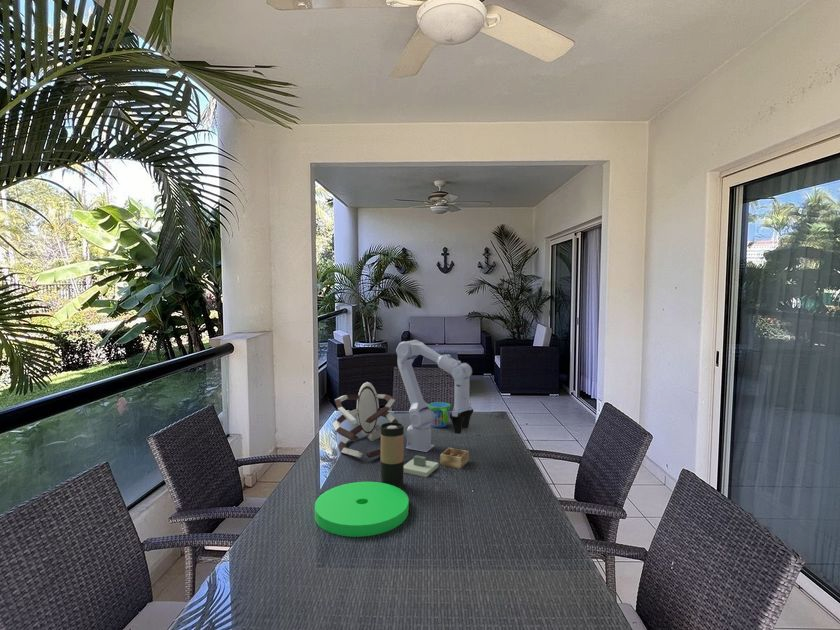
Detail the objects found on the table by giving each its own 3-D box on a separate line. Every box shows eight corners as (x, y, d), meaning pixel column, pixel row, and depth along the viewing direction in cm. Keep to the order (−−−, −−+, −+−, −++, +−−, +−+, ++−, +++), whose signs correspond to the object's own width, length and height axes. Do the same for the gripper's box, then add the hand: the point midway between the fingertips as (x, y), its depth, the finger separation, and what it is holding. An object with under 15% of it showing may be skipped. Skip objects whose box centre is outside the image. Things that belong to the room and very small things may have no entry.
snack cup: (424, 421, 221) (424, 401, 220) (445, 420, 223) (445, 400, 223) (432, 431, 206) (432, 409, 205) (454, 430, 208) (455, 408, 208)
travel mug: (376, 487, 148) (375, 427, 146) (388, 478, 154) (388, 421, 153) (396, 492, 144) (396, 430, 143) (408, 483, 151) (408, 424, 150)
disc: (316, 544, 115) (316, 531, 115) (312, 497, 141) (312, 487, 141) (419, 529, 122) (419, 517, 122) (397, 487, 148) (397, 477, 148)
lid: (400, 471, 160) (400, 459, 160) (413, 462, 169) (413, 450, 169) (426, 477, 156) (426, 464, 155) (438, 467, 165) (438, 454, 164)
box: (440, 465, 167) (440, 454, 166) (448, 457, 174) (448, 447, 173) (460, 468, 163) (460, 458, 163) (468, 461, 170) (468, 451, 170)
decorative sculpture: (398, 430, 205) (399, 466, 170) (339, 432, 204) (327, 468, 169) (398, 378, 202) (398, 403, 167) (337, 379, 201) (325, 405, 166)
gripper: (464, 400, 165) (464, 437, 166) (478, 392, 178) (477, 426, 179) (446, 398, 168) (446, 434, 169) (461, 390, 181) (461, 424, 182)
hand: (461, 430), depth 174 cm, fingers open, 7 cm apart
